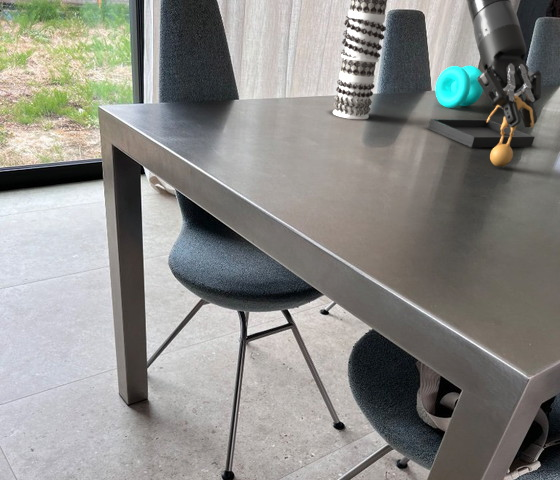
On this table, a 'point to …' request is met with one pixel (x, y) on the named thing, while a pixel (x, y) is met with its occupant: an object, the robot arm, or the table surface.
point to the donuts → (458, 86)
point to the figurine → (503, 151)
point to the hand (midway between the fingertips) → (523, 124)
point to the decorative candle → (359, 58)
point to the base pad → (478, 132)
